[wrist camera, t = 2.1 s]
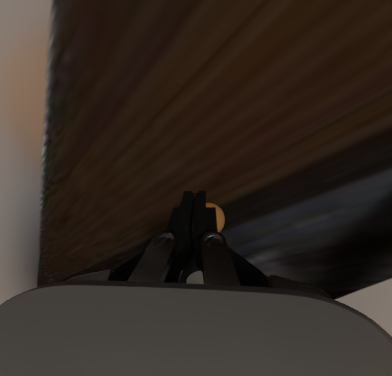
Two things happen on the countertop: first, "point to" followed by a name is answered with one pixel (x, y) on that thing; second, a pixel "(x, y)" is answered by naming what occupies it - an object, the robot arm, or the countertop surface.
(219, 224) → the ball
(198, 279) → the disc
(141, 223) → the countertop surface
